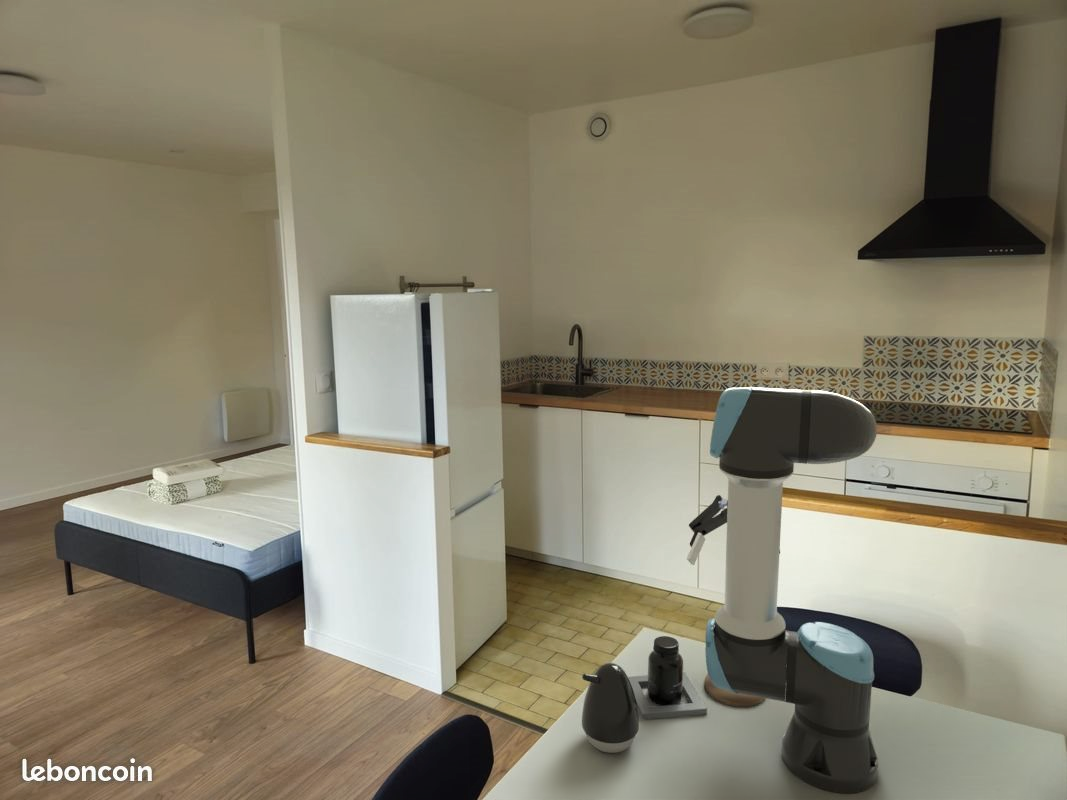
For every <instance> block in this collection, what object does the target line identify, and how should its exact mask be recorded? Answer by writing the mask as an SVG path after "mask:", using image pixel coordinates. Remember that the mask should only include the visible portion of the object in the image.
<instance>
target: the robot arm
mask: <svg viewBox="0 0 1067 800" xmlns="http://www.w3.org/2000/svg"><path fill="white" fill-rule="evenodd" d="M877 434H878V425H877V421H876V418H875V416H874V415H873V413H872V411H871V410H870V409H869V408H868V407H866V406H865V405H863V404H862V403H860V401H857V400H855V399H852V398H850V397H848V396H845V395H842V394H839V393H835V392H831V391H825V390H817V389H808V390H807V389H792V388H791V389H789V388H788V389H787V388H771V387H757V386H756V387H754V386H749V387H730V388H727V389H725V390H724V391H723V392H722V393H721V394H720V397H719V400H718V402H717V407H716V411H715V415H714V419H713V424H712V430H711V437H710V443H709V444H710V445H709V447H710V448H709V455H710V456H711V457H714V458H715V459H719V463H718V464H719V465H718V467H719V470H720V471H721V473H722V474H724V475H725V476H726V477H727V481H728V483H727V484H728V485H727V499H726V498H723V497H722V496H721V495H720V494H718V495H716V496H715V499H714V500H713V501H712V503H711V504H709V506H707V507H706V508H705V509H704V510H703V511H702V512H701V513H699V514H698V515H697V516H696V517H695V518H694V519H692V521H690V523H689V524H688V527H689V528H690V529H691V531H692V532H693V533H694V534H693V535H692V538H691V540H690V542H689V546H690V549H689V552H688V554H687V557H686V560H687V561H688V562H689V564H690V565H692V566H695V564H696V562H697V560H698V557H699V556H700V553H701V551H702V548H703V546H704V544H705V541H706V538H705V536H706V535H708V534H710V533H711V532H712V531H715V530H717V529H718V528H720V527H721V526H723V525H725V524H726V545H725V548H726V549H725V550H726V551H725V575H724V576H725V577H724V578H725V579H724V581H725V582H724V583H725V584H724V605H722V606H721V607H720V608H717V610H716V613H715V617H714V618H710V619H709V620H707V623H706V628H705V649H704V650H705V665H706V669H707V674H708V676H709V678H710V681H711V682H712V683H713V685H714V686H715V687H717V688H719V689H723V690H727V691H732V692H733V693H735V694H739V693H741V694H746V695H751V696H756V697H762V698H765V699H767V700H773V701H778V702H784V703H788V704H794V712H793V715H792V717H791V719H790V721H789V724H788V726H787V728H786V730H785V732H784V733H783V736H782V741H781V756H782V760H783V762H784V763H785V765H786V766H787V768H788V769H789V770H790V771H791V772H792V773H793V774H794V775H795V776H797V777H798V778H799V779H801V780H803V782H805V783H807V784H810V785H812V786H815V787H816V788H820V789H822V790H825V791H829V792H835V793H839V794H840V793H842V794H852V793H859V792H860V793H861V792H864V791H865V790H868V789H869V788H871V787H872V786H874V784H875V783H876V781H877V779H878V771H879V761H878V756H877V752H876V749H875V746H874V742H873V738H872V735H871V731H870V720H871V719H870V718H871V701H872V688H873V681H875V672H874V655H873V651H872V649H871V648H870V646H869V644H868V643H867V642H866V641H865V640H864V639H863V638H862V637H860V636H858V635H857V634H856V633H854V632H853V631H851V630H849V629H847V628H844V627H842V626H839V625H836V624H832V623H828V622H824V621H813V622H806V623H804V624H802V625H801V626H800V628H799V629H798V630H797V631H793V630H792V631H791V630H787V629H786V621H785V619H784V617H783V616H782V614H780V613H779V612H778V608H777V607H778V595H779V594H778V592H779V591H778V590H779V589H778V588H779V571H780V569H779V568H780V555H781V548H780V547H781V529H782V528H781V527H782V509H783V508H782V507H783V487H784V482H785V481H786V480H787V479H789V478H790V477H791V476H793V474H794V468H795V467H794V465H795V464H804V465H809V464H810V465H826V464H833V463H841V462H845V461H849V460H852V459H857V458H858V457H860V456H862V455H863V454H866V452H868V451H869V450H870V449H871V448H872V446H873V445H874V443H875V440H876V439H877ZM725 507H726V508H725ZM719 512H720V513H719ZM718 513H719V514H718Z"/></svg>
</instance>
